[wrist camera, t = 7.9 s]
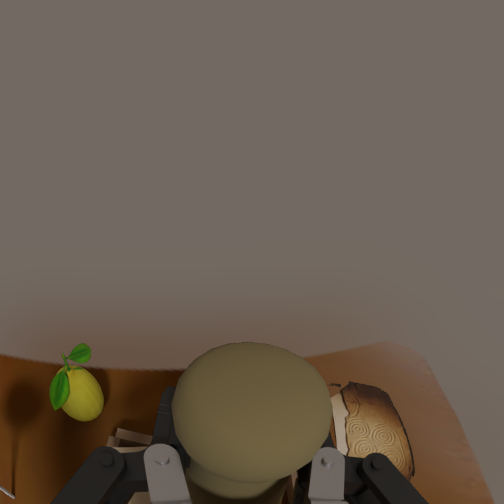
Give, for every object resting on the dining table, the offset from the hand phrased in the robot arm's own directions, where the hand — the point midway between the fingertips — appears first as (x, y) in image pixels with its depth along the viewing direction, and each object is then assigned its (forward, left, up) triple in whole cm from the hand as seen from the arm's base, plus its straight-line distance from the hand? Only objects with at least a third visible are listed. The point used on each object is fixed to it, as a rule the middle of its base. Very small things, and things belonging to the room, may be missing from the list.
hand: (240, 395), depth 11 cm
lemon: (-16, +8, -18) cm, 25 cm away
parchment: (+17, +4, -18) cm, 25 cm away
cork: (0, -3, -7) cm, 8 cm away
